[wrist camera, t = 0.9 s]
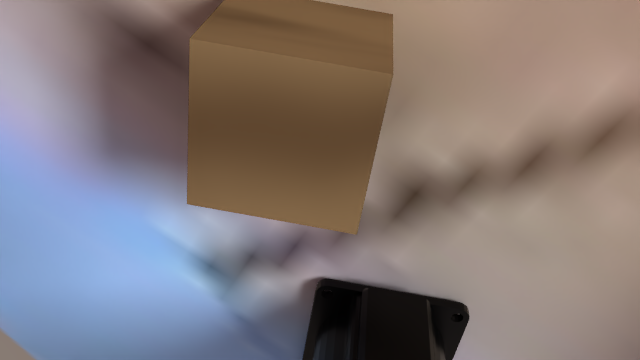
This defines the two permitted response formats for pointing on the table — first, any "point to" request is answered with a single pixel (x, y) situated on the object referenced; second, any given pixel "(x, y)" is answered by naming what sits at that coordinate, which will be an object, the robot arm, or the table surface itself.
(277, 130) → the walnut cube
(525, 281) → the table surface
